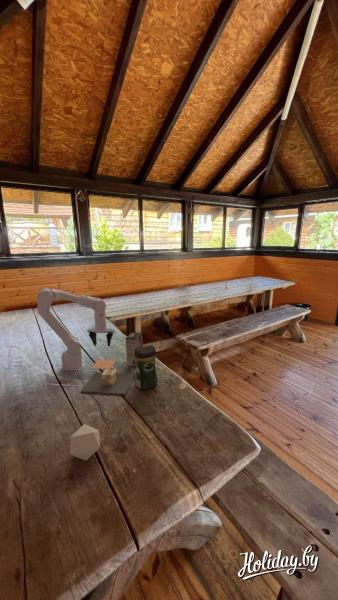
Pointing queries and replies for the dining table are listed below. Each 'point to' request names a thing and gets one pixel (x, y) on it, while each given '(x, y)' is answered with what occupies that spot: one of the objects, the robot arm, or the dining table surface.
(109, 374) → the birch block
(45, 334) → the dining table surface
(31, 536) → the dining table surface
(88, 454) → the die
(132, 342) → the coffee box
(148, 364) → the coffee jar
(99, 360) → the tile
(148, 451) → the dining table surface
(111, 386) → the mat
